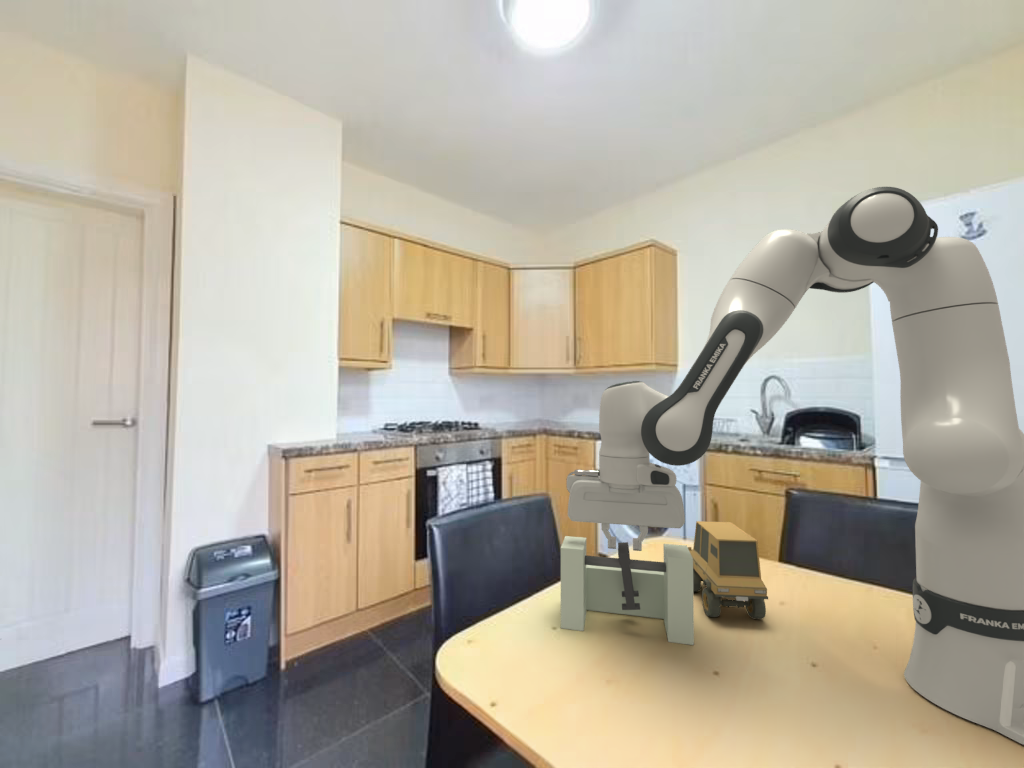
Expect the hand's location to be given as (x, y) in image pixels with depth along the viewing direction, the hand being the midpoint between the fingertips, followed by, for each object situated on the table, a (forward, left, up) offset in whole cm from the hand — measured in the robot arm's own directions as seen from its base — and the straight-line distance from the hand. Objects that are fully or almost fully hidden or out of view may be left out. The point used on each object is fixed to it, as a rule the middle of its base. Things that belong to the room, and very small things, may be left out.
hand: (624, 548), depth 79 cm
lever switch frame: (0, -1, -14) cm, 14 cm away
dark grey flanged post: (-1, 0, -9) cm, 9 cm away
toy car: (-19, -14, -14) cm, 27 cm away
